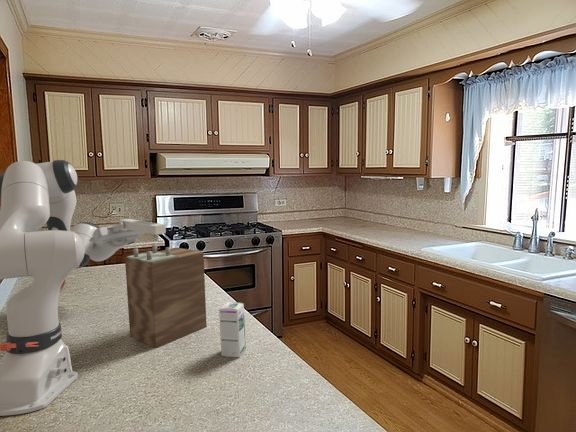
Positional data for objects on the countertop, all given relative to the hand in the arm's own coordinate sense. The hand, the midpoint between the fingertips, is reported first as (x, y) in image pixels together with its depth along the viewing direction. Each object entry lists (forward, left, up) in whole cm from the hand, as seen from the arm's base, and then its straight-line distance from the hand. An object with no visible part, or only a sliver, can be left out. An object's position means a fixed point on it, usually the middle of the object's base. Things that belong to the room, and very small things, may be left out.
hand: (130, 223), depth 154 cm
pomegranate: (+36, +44, -34) cm, 66 cm away
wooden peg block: (-22, -15, -34) cm, 43 cm away
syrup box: (-41, -36, -34) cm, 64 cm away
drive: (-5, -5, -2) cm, 7 cm away
